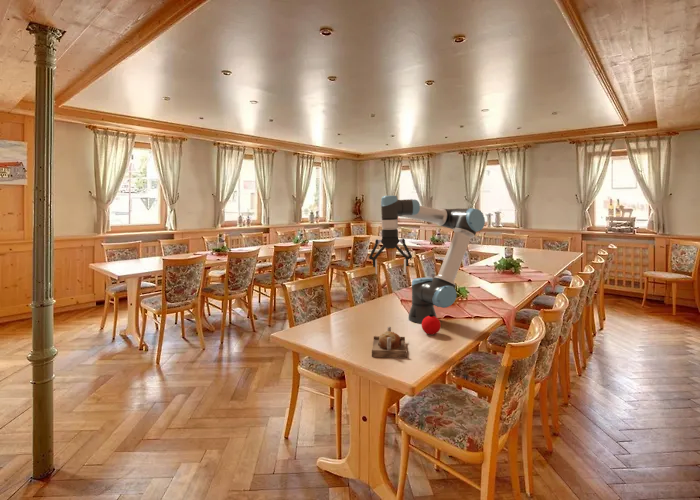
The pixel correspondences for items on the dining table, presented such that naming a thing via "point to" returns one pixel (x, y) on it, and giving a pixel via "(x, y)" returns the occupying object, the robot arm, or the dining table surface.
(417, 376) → the dining table surface
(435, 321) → the ornament
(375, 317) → the dining table surface
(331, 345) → the dining table surface
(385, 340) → the bread roll
